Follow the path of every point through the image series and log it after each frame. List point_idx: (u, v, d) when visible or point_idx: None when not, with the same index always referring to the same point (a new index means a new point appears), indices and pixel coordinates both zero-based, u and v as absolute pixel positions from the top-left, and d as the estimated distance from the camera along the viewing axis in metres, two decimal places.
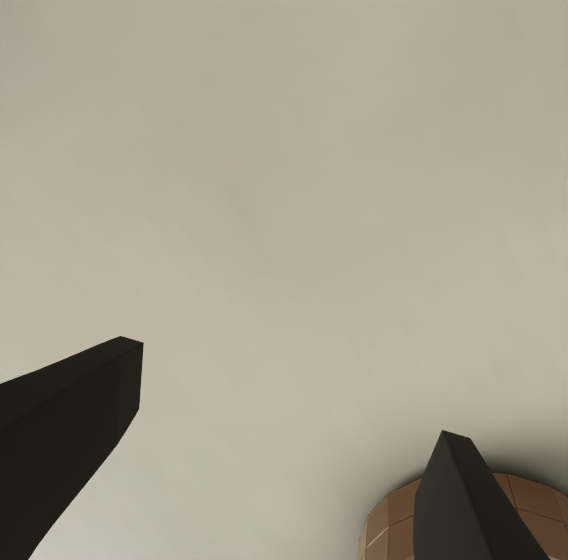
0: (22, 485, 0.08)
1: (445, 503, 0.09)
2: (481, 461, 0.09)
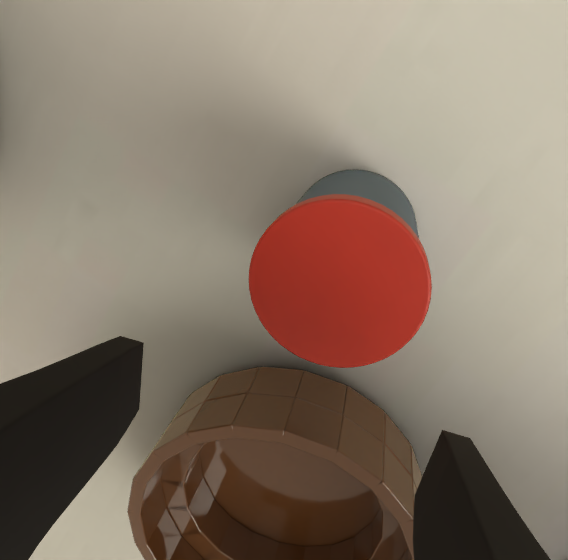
0: (22, 485, 0.08)
1: (445, 503, 0.09)
2: (481, 461, 0.09)
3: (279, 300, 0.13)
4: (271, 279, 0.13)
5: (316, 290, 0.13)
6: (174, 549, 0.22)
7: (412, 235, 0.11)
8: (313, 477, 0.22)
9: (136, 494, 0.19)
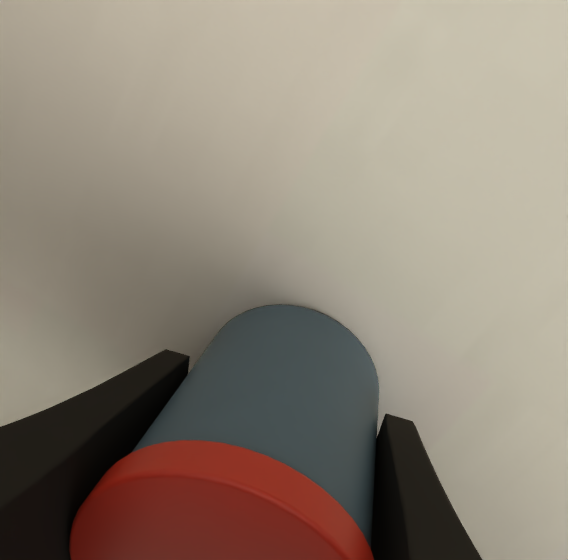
0: None
1: (380, 483, 0.09)
2: (417, 442, 0.09)
3: None
4: None
5: None
6: None
7: (337, 542, 0.06)
8: None
9: None
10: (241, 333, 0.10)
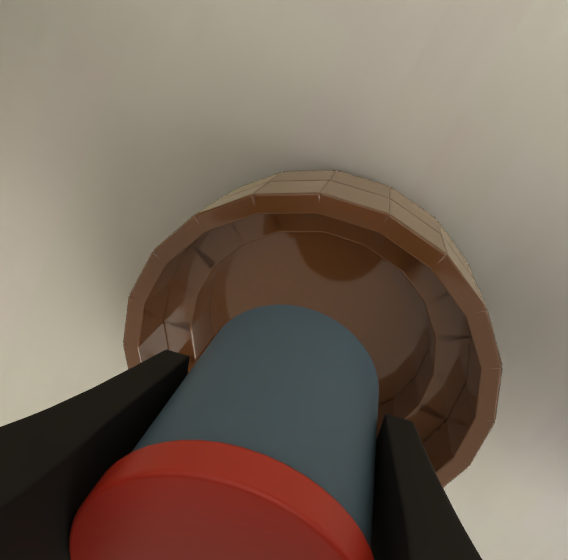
0: None
1: (380, 483, 0.09)
2: (416, 442, 0.09)
3: None
4: None
5: None
6: None
7: (337, 541, 0.06)
8: (345, 322, 0.18)
9: (133, 317, 0.15)
10: (241, 333, 0.10)
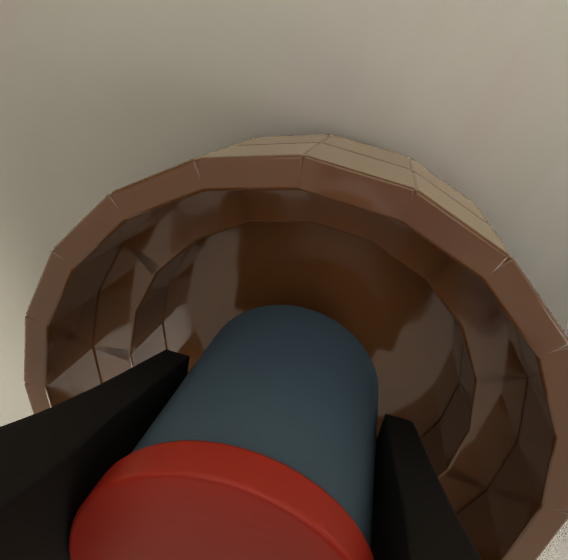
0: None
1: (380, 483, 0.09)
2: (417, 442, 0.09)
3: None
4: None
5: None
6: None
7: (337, 542, 0.06)
8: None
9: (34, 346, 0.11)
10: (241, 333, 0.10)
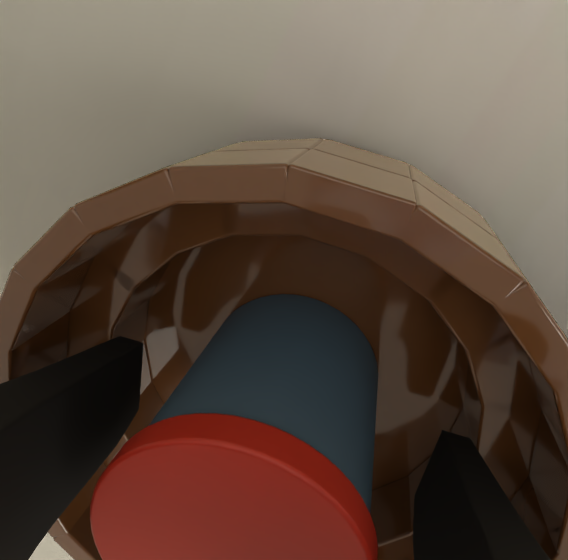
0: (22, 485, 0.08)
1: (445, 503, 0.09)
2: (481, 461, 0.09)
3: None
4: (123, 535, 0.08)
5: (194, 558, 0.08)
6: None
7: (340, 503, 0.07)
8: None
9: None
10: (247, 320, 0.11)
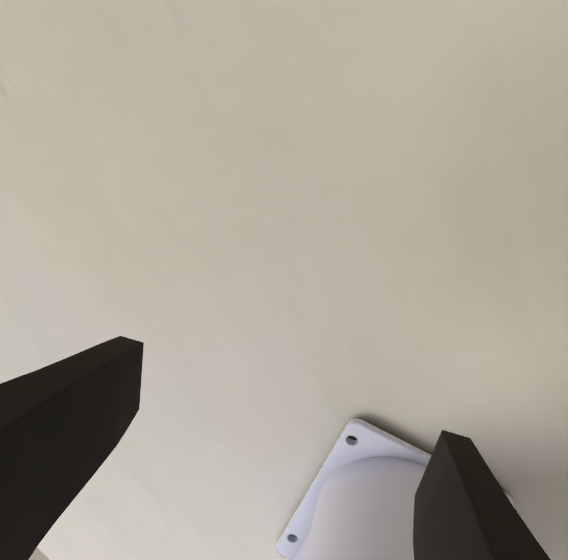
0: (22, 485, 0.08)
1: (445, 503, 0.09)
2: (481, 461, 0.09)
3: None
4: None
5: None
6: None
7: None
8: None
9: None
10: None
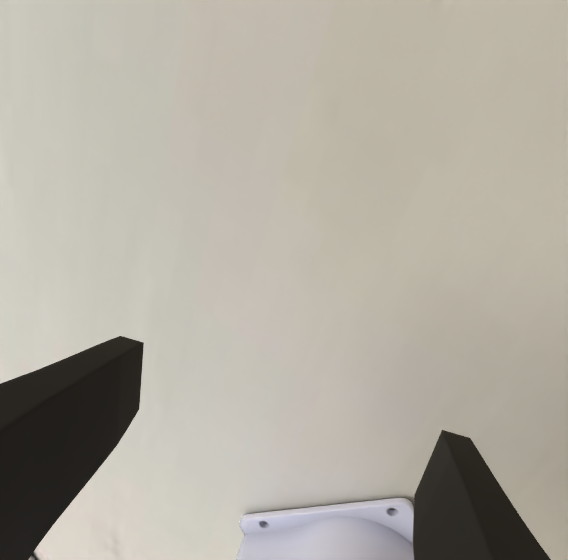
0: (22, 485, 0.08)
1: (445, 503, 0.09)
2: (481, 461, 0.09)
3: None
4: None
5: None
6: None
7: None
8: None
9: None
10: None
